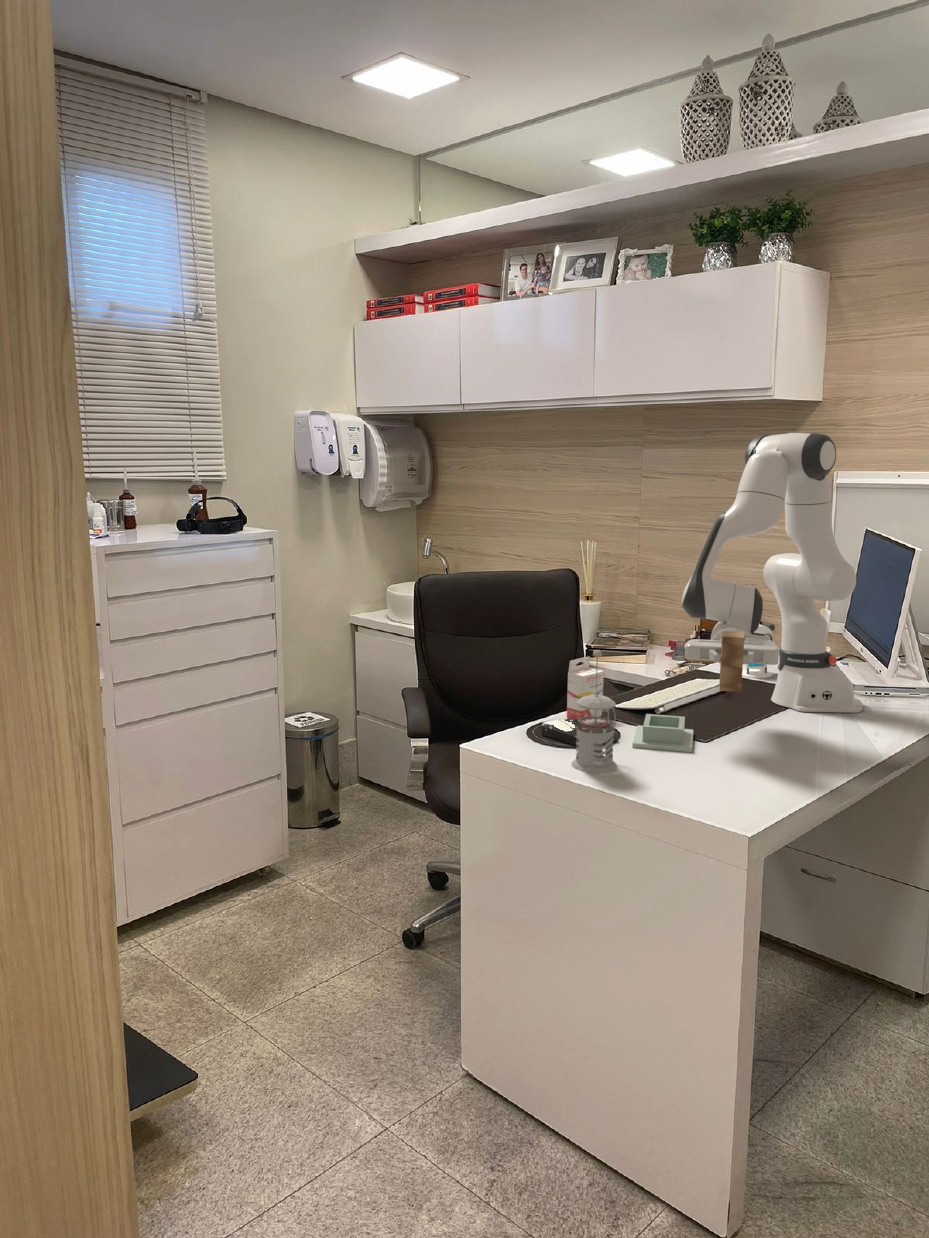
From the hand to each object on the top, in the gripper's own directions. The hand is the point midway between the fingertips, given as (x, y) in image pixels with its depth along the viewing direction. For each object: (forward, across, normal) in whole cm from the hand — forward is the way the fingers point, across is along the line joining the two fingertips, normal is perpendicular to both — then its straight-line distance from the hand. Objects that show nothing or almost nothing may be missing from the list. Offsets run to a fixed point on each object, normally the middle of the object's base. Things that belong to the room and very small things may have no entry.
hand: (731, 659), depth 204 cm
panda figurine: (-76, +8, +21) cm, 80 cm away
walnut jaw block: (-1, 0, +6) cm, 7 cm away
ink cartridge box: (-19, -34, +21) cm, 44 cm away
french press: (+15, -27, +21) cm, 38 cm away
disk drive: (-2, -33, +22) cm, 40 cm away
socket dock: (-5, -14, +21) cm, 26 cm away
